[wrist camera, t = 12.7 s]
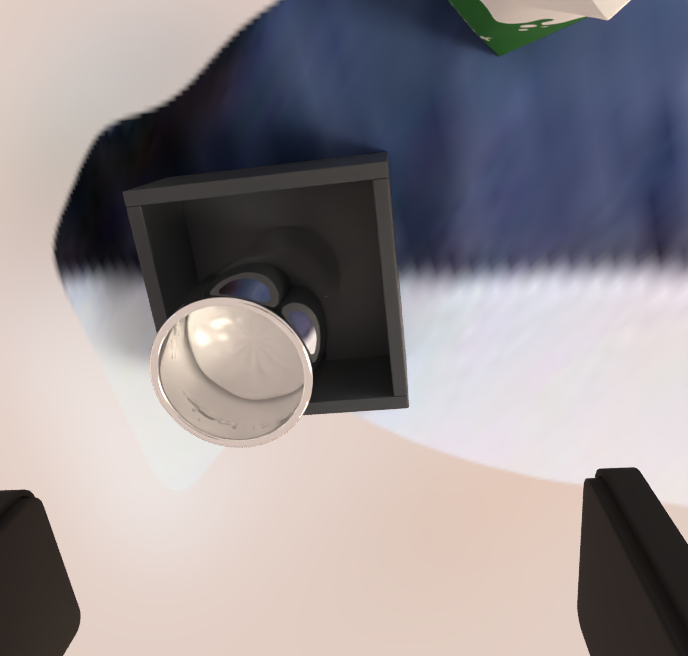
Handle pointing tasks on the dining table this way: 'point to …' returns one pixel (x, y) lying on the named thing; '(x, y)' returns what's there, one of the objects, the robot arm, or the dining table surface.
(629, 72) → the dining table surface
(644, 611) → the robot arm
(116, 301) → the dining table surface
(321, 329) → the beer glass
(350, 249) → the bin
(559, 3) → the milk carton
